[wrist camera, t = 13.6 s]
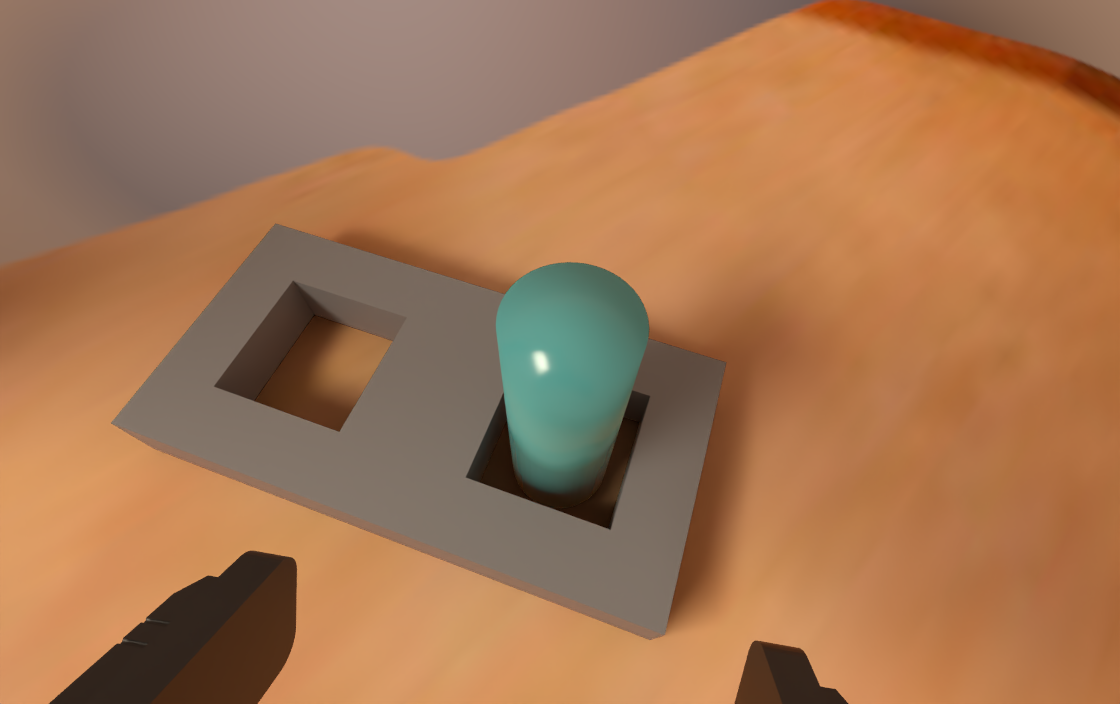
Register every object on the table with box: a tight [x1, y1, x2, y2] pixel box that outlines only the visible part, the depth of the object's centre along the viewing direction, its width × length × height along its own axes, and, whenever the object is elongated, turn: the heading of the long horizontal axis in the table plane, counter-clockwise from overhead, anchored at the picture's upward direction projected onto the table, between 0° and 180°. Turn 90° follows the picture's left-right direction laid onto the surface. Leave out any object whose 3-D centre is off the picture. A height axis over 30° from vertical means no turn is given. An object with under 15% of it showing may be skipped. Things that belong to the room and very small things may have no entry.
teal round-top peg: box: [496, 262, 649, 508], centre depth 21 cm, size 4×4×12 cm
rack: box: [111, 224, 726, 640], centre depth 26 cm, size 24×12×3 cm, turn 71°
